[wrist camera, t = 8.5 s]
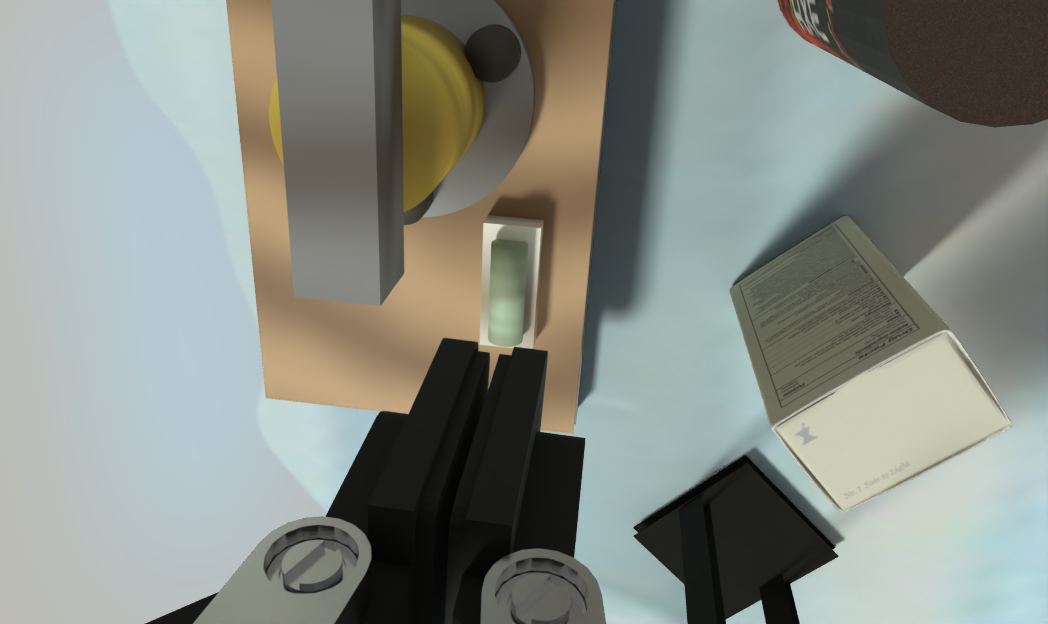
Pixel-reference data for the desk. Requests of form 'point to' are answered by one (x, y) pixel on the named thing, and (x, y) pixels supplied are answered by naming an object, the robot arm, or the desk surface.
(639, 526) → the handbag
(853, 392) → the skincare box
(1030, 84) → the deodorant
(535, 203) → the level plate
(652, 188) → the desk surface
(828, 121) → the desk surface
